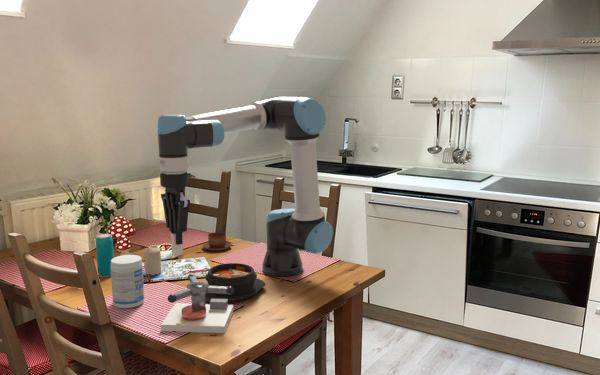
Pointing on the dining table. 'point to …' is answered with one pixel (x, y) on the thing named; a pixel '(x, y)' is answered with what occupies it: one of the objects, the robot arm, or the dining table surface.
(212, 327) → the stand
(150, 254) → the candle
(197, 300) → the capstan
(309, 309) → the dining table surface
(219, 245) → the cup and saucer
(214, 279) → the casserole
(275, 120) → the robot arm
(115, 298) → the supplement tub
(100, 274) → the beverage can
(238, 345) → the dining table surface
